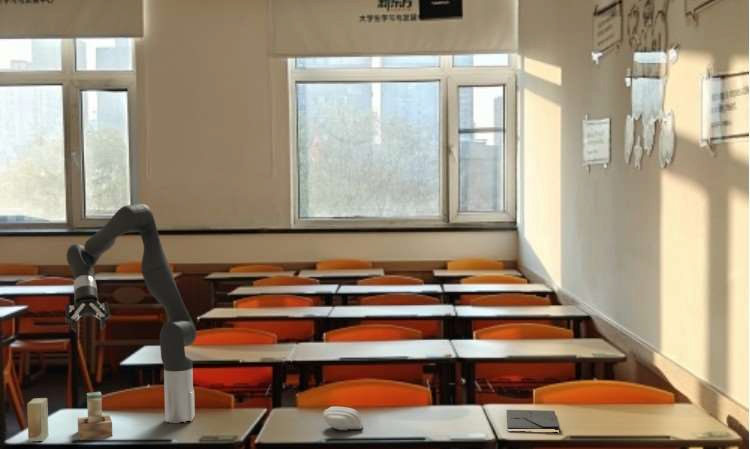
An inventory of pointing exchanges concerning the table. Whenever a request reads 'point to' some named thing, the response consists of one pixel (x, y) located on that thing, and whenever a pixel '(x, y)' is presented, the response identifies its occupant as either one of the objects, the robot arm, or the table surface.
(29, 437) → the skincare box
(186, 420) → the robot arm
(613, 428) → the table surface
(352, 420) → the shell shaped sculpture
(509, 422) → the picture frame
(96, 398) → the peg
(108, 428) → the socket block
